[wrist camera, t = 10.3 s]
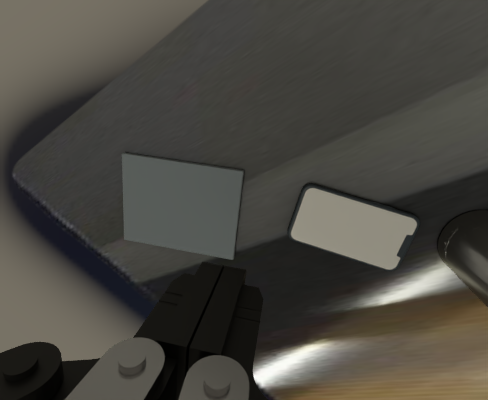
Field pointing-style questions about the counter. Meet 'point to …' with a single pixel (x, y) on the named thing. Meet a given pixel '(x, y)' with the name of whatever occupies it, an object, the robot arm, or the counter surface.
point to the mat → (181, 204)
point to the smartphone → (352, 227)
